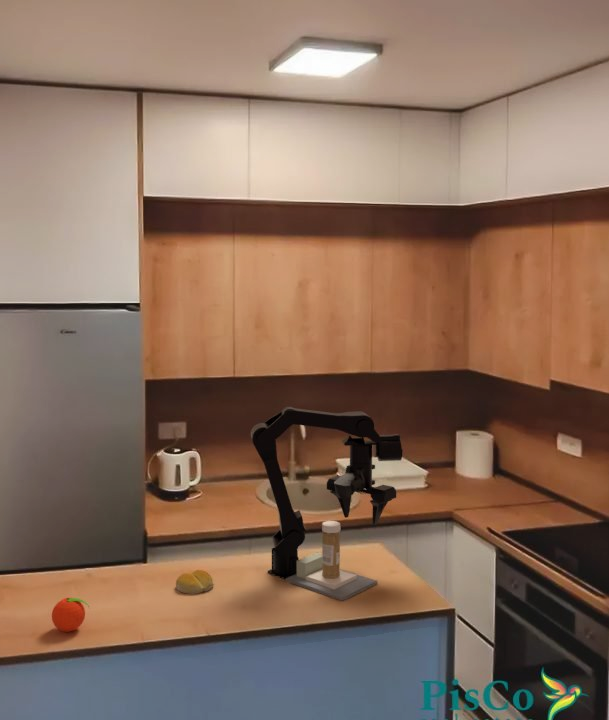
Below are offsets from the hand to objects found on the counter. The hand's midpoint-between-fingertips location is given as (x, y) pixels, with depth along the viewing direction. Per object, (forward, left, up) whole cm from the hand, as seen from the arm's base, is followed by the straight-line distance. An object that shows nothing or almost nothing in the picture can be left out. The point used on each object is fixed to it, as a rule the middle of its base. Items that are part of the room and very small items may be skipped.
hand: (360, 520), depth 208 cm
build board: (0, -12, -13) cm, 17 cm away
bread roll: (-23, -36, -14) cm, 45 cm away
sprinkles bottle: (0, -12, -12) cm, 16 cm away
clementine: (-25, -70, -13) cm, 75 cm away
